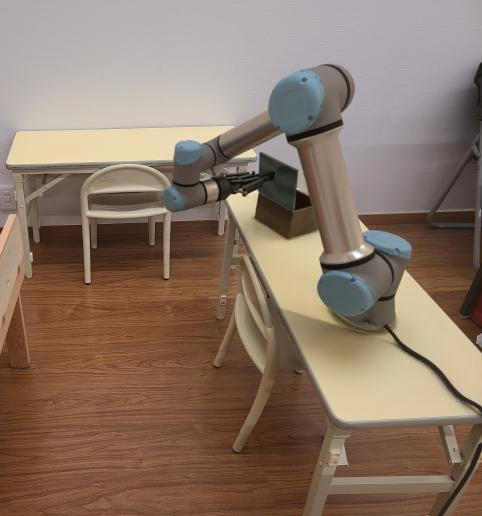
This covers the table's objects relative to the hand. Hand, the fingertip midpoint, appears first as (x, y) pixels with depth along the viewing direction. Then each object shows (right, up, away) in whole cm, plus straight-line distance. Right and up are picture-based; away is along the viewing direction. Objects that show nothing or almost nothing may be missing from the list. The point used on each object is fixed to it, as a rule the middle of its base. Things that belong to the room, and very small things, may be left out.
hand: (273, 174), depth 154 cm
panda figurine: (+19, -6, +29) cm, 35 cm away
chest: (+8, -14, +15) cm, 22 cm away
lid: (+2, -2, +2) cm, 3 cm away
